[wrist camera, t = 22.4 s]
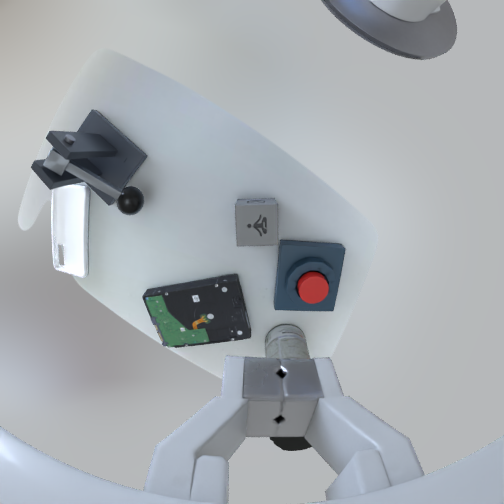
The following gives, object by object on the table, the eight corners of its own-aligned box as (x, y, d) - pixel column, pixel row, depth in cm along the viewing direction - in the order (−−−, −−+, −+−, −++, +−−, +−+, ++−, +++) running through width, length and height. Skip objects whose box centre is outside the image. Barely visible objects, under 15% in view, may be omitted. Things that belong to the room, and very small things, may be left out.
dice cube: (274, 234, 38) (278, 245, 34) (238, 235, 38) (236, 246, 34) (274, 198, 37) (277, 204, 32) (237, 199, 37) (234, 205, 32)
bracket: (147, 155, 35) (102, 157, 23) (112, 204, 37) (62, 225, 25) (96, 110, 32) (43, 99, 20) (66, 157, 34) (11, 164, 22)
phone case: (88, 275, 41) (90, 186, 36) (85, 278, 39) (85, 188, 35) (57, 266, 40) (57, 182, 35) (53, 269, 39) (52, 183, 34)
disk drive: (237, 270, 40) (146, 288, 41) (236, 278, 38) (140, 296, 38) (252, 328, 44) (168, 340, 44) (252, 338, 41) (164, 350, 42)
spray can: (275, 359, 46) (285, 457, 27) (256, 333, 44) (258, 435, 25) (310, 344, 45) (335, 440, 26) (293, 316, 43) (316, 416, 24)
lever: (148, 190, 34) (150, 203, 31) (133, 210, 35) (134, 225, 32) (59, 136, 24) (52, 145, 21) (46, 161, 25) (38, 172, 22)
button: (299, 270, 36) (301, 275, 35) (328, 271, 36) (331, 277, 35) (295, 297, 38) (297, 303, 36) (323, 298, 38) (326, 304, 36)
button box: (280, 239, 39) (283, 248, 35) (341, 243, 39) (349, 252, 35) (273, 302, 42) (275, 316, 38) (329, 304, 42) (336, 317, 38)
